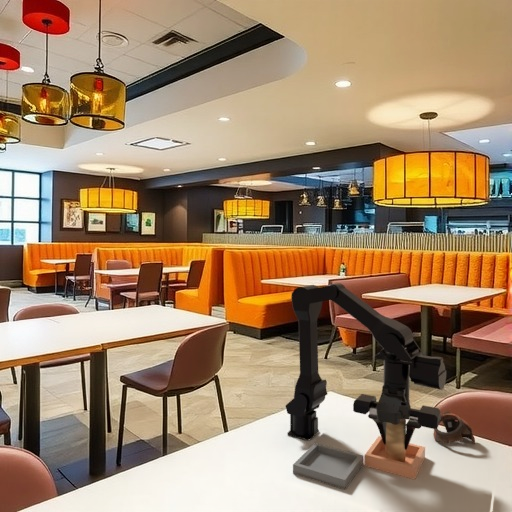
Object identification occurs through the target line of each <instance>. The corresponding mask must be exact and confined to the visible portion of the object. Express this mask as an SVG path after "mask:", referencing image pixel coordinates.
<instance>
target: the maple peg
mask: <svg viewBox="0 0 512 512" xmlns="http://www.w3.org/2000/svg"><path fill="white" fill-rule="evenodd" d="M406 424H407V419H403V420H401V419H400V423H399V424H397V425H394V424H391V423H388V422H386V458H388V459H392V460H396V461H399V462H403V463H405V453H406V450H405V436H406Z"/></svg>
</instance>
